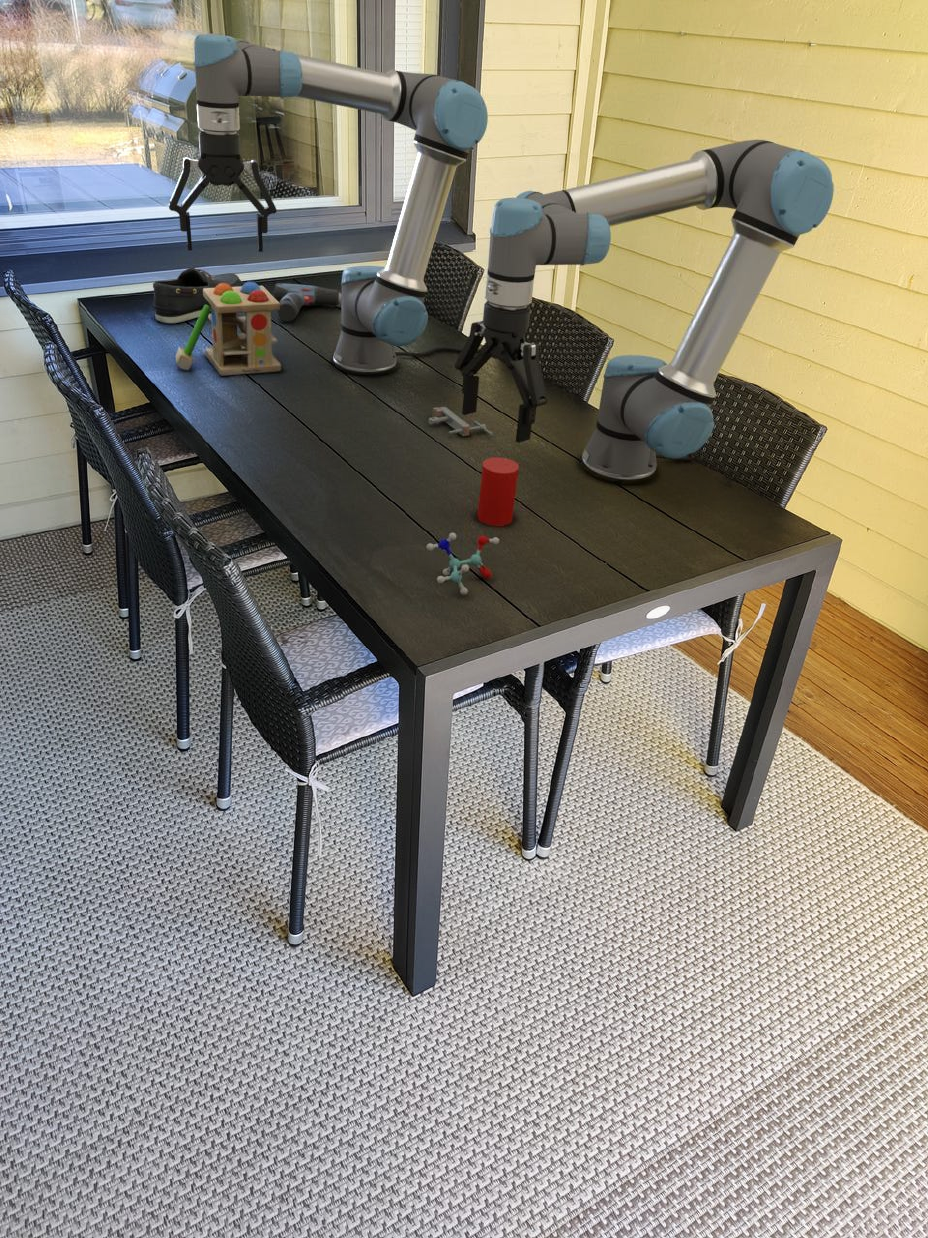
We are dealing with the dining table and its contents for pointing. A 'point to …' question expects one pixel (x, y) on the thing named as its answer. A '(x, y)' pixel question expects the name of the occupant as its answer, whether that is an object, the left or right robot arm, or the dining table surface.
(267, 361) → the pounding bench toy
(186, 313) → the boat shoe
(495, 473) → the red cylinder
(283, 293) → the power drill
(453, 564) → the molecular model
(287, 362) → the dining table surface
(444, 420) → the clamp
